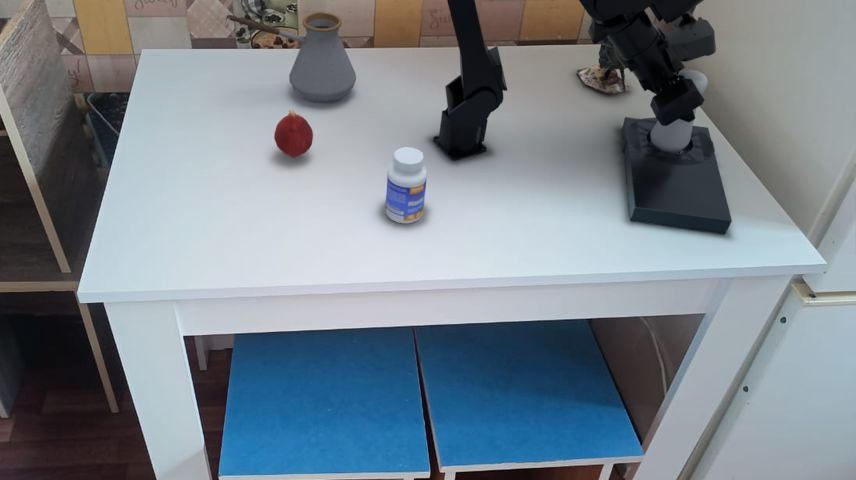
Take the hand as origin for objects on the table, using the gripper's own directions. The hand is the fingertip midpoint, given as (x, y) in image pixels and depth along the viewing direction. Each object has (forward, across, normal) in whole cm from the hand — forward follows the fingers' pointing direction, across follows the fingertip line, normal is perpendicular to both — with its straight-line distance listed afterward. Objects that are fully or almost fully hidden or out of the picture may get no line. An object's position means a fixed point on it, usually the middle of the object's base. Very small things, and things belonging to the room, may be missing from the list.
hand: (688, 113), depth 111 cm
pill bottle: (-25, -17, +36) cm, 47 cm away
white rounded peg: (+4, 0, +6) cm, 7 cm away
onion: (-36, -4, +48) cm, 60 cm away
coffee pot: (-37, +14, +49) cm, 63 cm away
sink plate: (+4, -6, +7) cm, 10 cm away
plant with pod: (+1, +21, +10) cm, 23 cm away
